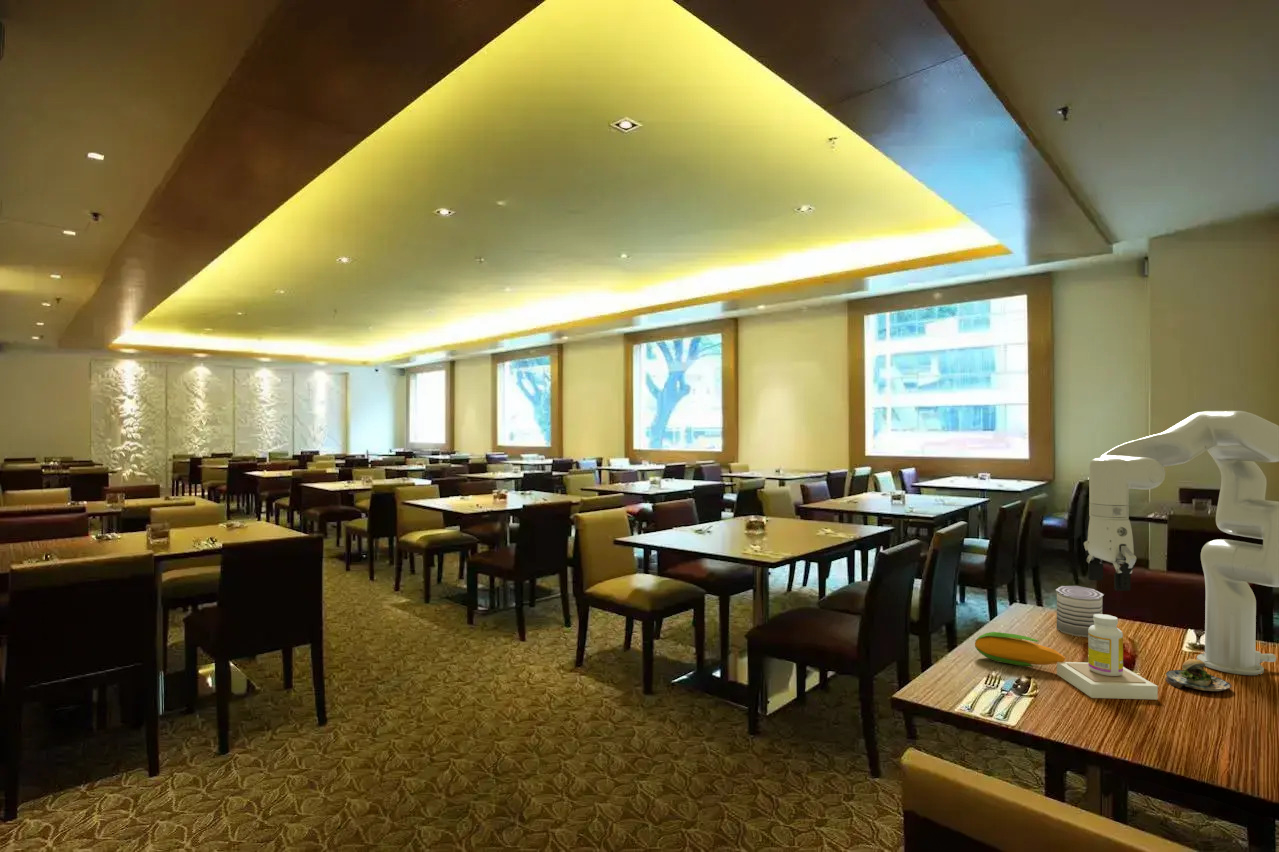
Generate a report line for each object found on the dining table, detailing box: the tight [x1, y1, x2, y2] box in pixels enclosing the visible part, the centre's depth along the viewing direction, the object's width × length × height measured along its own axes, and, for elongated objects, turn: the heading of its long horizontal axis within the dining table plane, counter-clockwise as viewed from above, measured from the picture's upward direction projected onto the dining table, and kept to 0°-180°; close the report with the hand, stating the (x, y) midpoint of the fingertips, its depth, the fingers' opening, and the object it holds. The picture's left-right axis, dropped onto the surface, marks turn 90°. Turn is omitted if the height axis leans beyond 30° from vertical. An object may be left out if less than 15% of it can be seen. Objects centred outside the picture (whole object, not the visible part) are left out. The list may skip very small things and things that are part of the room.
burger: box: [1164, 653, 1233, 692], centre depth 158 cm, size 12×12×8 cm
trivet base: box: [1056, 661, 1159, 700], centre depth 157 cm, size 14×14×3 cm
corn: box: [974, 631, 1066, 668], centre depth 171 cm, size 7×8×20 cm
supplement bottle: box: [1087, 613, 1124, 676], centre depth 157 cm, size 7×7×13 cm
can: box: [1055, 585, 1105, 638], centre depth 198 cm, size 11×11×12 cm
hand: (1108, 585), depth 157 cm, fingers open, 9 cm apart
